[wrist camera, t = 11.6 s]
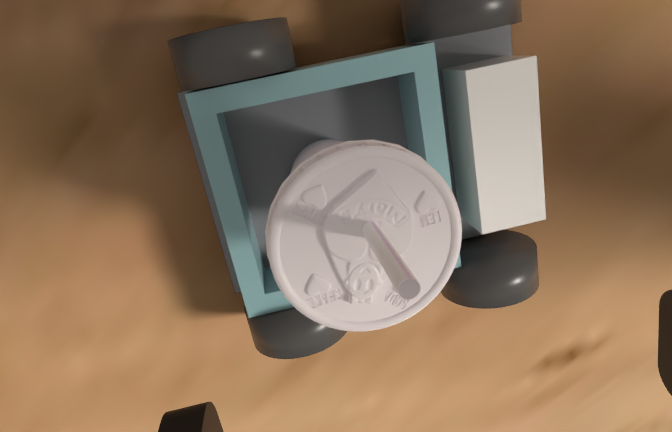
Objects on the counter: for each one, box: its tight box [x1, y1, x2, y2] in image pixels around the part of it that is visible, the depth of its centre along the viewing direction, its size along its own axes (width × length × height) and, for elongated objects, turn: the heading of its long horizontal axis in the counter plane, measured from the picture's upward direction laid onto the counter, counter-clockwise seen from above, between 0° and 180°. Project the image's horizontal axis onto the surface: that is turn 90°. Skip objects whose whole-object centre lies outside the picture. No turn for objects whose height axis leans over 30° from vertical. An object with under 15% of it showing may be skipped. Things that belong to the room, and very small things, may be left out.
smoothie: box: [265, 139, 462, 332], centre depth 18 cm, size 6×6×14 cm
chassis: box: [167, 0, 546, 359], centre depth 24 cm, size 16×15×5 cm
